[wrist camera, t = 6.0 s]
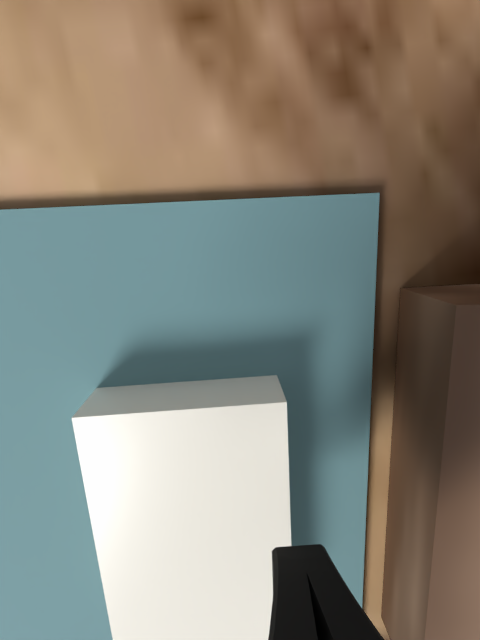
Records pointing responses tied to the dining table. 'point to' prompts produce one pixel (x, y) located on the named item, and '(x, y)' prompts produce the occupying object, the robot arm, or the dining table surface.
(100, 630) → the mat
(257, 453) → the white rectangular block
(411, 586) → the brown flat square board
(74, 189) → the dining table surface
